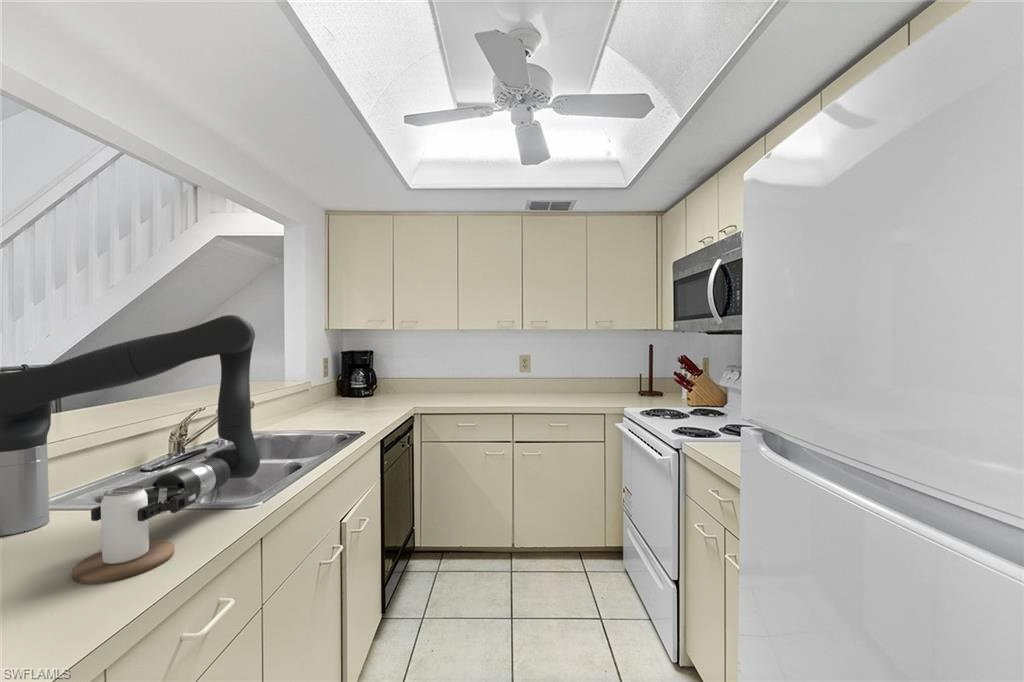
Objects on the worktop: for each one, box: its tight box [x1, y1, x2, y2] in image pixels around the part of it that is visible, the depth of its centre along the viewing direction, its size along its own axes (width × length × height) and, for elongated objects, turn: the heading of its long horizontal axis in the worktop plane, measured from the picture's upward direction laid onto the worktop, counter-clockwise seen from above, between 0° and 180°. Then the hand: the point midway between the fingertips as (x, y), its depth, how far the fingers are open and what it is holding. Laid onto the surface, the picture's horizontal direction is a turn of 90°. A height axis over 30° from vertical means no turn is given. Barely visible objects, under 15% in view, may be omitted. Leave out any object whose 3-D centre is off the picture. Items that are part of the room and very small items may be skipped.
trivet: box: [71, 539, 175, 584], centre depth 84 cm, size 14×14×1 cm
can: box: [100, 484, 150, 565], centre depth 84 cm, size 6×6×12 cm
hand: (116, 515), depth 82 cm, fingers open, 8 cm apart
